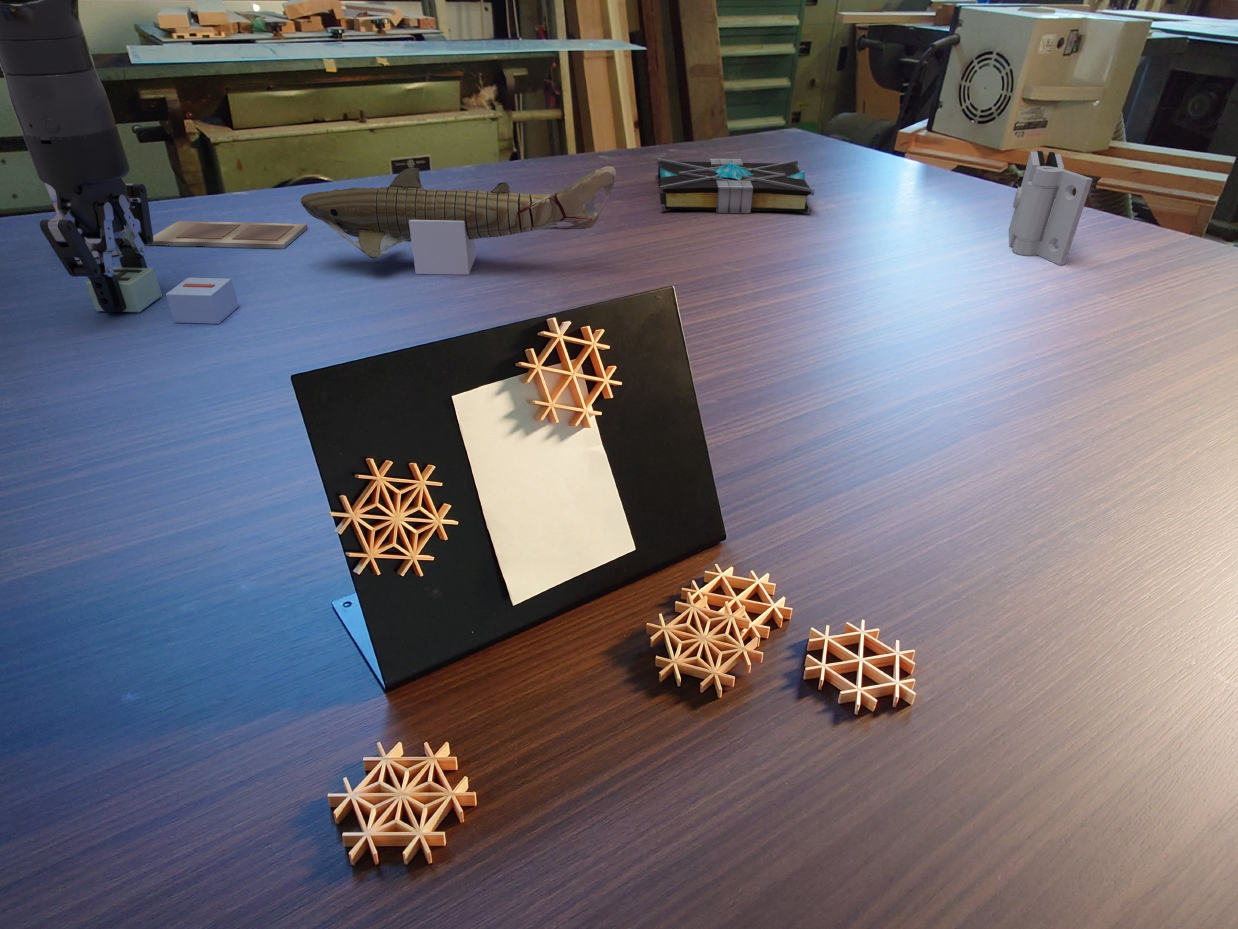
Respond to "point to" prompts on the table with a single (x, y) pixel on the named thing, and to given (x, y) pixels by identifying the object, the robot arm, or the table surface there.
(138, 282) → the tile
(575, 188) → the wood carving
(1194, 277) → the table surface
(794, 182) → the book
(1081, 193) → the hinge
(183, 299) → the tile
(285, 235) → the word board
